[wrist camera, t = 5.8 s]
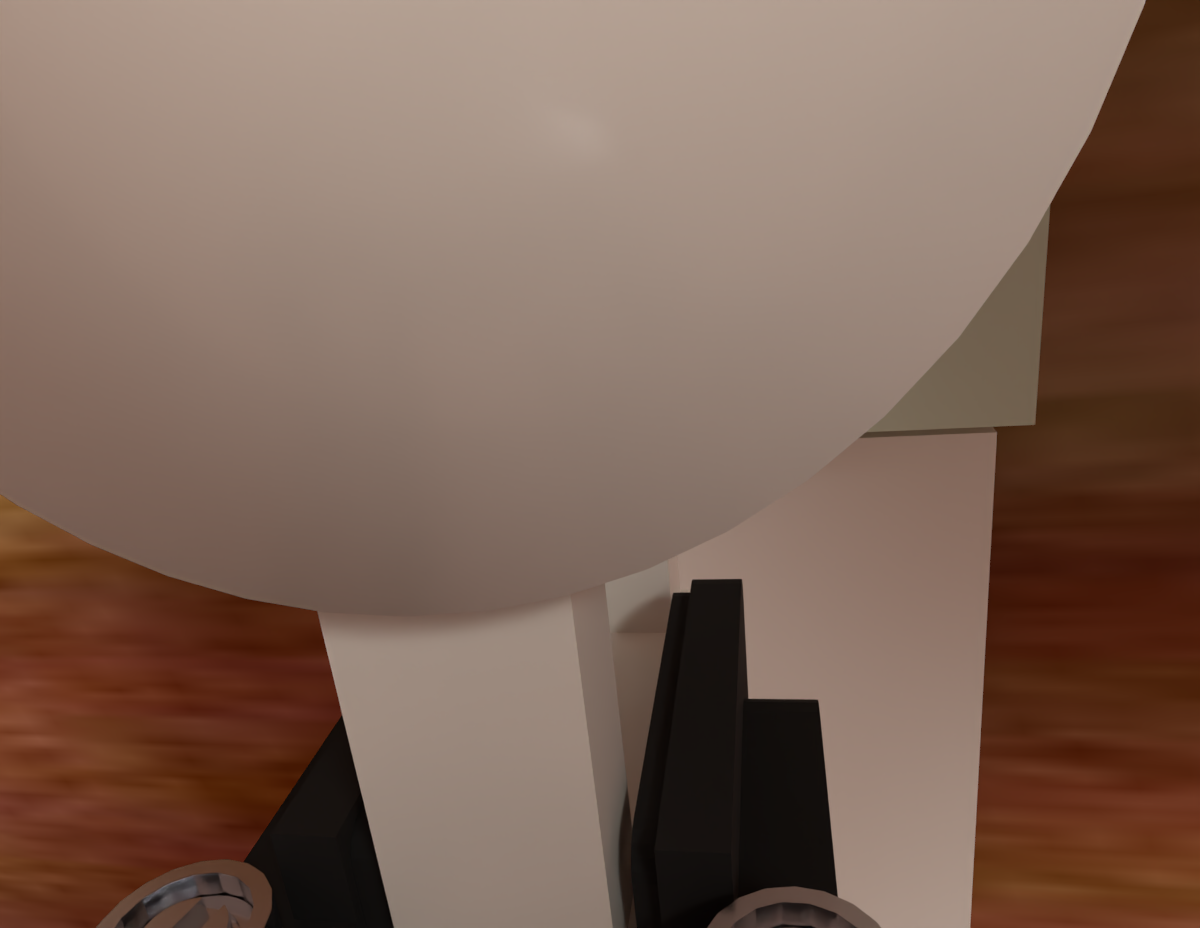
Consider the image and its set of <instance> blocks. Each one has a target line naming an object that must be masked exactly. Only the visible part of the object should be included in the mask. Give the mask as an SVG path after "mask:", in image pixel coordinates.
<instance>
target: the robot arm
mask: <svg viewBox="0 0 1200 928" xmlns="http://www.w3.org/2000/svg"><path fill="white" fill-rule="evenodd" d="M631 877H632V888H633V897H634V906H635V915H636V924H637V928H881V927H880V925H879V924H878V923H877V922H876V921H875V920H874V919H872V918H871V917H870V916H868V915H867V914H866V913H864V912H863V911H862V910H860V909H859V908H858V907H857V906H855V905H854V904H853V903H850V902H848V901H846V900H843V899H841V898H839V897H838V893H837V882H836V872H835V862H834V852H833V842H832V831H831V821H830V811H829V801H828V790H827V780H826V770H825V760H824V749H823V739H822V729H821V719H820V709H819V702H818V700H816V699H748V680H747V659H746V639H745V619H744V599H743V584H742V579H693V580H692V583H691V589H690V592H680V593H673V595H672V600H671V606H670V612H669V618H668V623H667V629H666V635H665V641H664V646H663V652H662V658H661V664H660V669H659V675H658V681H657V687H656V692H655V698H654V704H653V710H652V715H651V721H650V727H649V733H648V738H647V744H646V750H645V756H644V761H643V767H642V773H641V779H640V784H639V790H638V796H637V802H636V807H635V813H634V819H633V827H632V839H631ZM96 928H394V926H393V922H392V917H391V913H390V909H389V905H388V901H387V897H386V893H385V889H384V884H383V880H382V876H381V872H380V868H379V864H378V860H377V856H376V851H375V847H374V843H373V839H372V835H371V831H370V827H369V823H368V818H367V814H366V810H365V806H364V802H363V798H362V794H361V790H360V785H359V781H358V777H357V773H356V769H355V765H354V761H353V757H352V753H351V748H350V744H349V740H348V736H347V732H346V728H345V724H344V720H343V715H342V716H341V718H340V719H339V721H338V722H337V724H336V725H335V727H334V728H333V730H332V731H331V732H330V734H329V735H328V737H327V738H326V740H325V741H324V743H323V744H322V746H321V747H320V749H319V750H318V752H317V753H316V755H315V756H314V758H313V759H312V761H311V762H310V764H309V765H308V767H307V768H306V770H305V771H304V773H303V774H302V776H301V777H300V779H299V780H298V782H297V783H296V785H295V786H294V788H293V789H292V791H291V792H290V794H289V795H288V797H287V798H286V800H285V801H284V803H283V804H282V805H281V807H280V808H279V810H278V811H277V813H276V814H275V816H274V817H273V819H272V820H271V822H270V823H269V825H268V826H267V828H266V829H265V831H264V832H263V834H262V835H261V837H260V838H259V840H258V841H257V843H256V844H255V846H254V847H253V849H252V850H251V852H250V853H249V855H248V856H247V858H246V859H245V861H244V862H239V861H234V860H228V859H223V860H210V861H201V862H197V863H194V864H190V865H187V866H183V867H180V868H177V869H174V870H171V871H169V872H167V873H165V874H163V875H161V876H159V877H157V878H155V879H153V880H151V881H149V882H147V883H145V884H144V885H143V886H141V887H140V888H139V889H137V890H136V891H134V892H133V893H132V894H130V895H129V896H127V897H126V898H125V899H123V900H122V901H121V902H120V903H119V904H118V905H117V906H116V907H115V908H114V909H113V910H112V911H111V912H110V913H109V914H108V915H107V916H106V917H105V918H104V919H103V920H102V921H101V922H100V923H99V925H98V926H97V927H96Z"/></svg>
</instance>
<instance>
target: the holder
mask: <svg viewBox="0 0 1200 928" xmlns="http://www.w3.org/2000/svg"><path fill="white" fill-rule="evenodd" d="M1049 217H1050V205H1049V207H1048V209H1047V210H1046V212H1045V214H1044V216H1043V217H1042V219H1041V221H1040V223H1039V225H1038V226H1037V228H1036V230H1035V232H1034V233H1033V235H1032V237H1031V239H1030V240H1029V242H1028V244H1027V245H1026V246H1025V248H1024V249H1023V251H1022V252H1021V253H1020V255H1019V256H1018V257H1017V259H1016V260H1015V261H1014V263H1013V264H1012V266H1011V267H1010V268H1009V270H1008V271H1007V272H1006V274H1005V275H1004V276H1003V278H1002V279H1001V281H1000V282H999V283H998V285H997V286H996V287H995V289H994V290H993V291H992V293H991V294H990V296H989V297H988V298H987V300H986V301H985V302H984V304H983V305H982V306H981V308H980V309H979V311H978V312H977V313H976V315H975V316H974V317H973V319H972V320H971V321H970V323H969V324H968V326H967V327H966V328H965V330H964V331H963V332H962V334H961V335H960V336H959V338H958V339H957V340H956V341H955V342H954V343H953V344H952V345H951V346H950V347H949V348H948V349H947V351H946V352H945V353H944V354H943V355H942V356H941V357H940V358H939V359H938V360H937V361H936V362H935V363H934V364H933V365H932V367H931V368H930V369H929V370H928V371H927V372H926V373H925V374H924V375H923V376H922V377H921V378H920V379H919V380H918V381H917V383H916V384H915V385H914V386H913V387H912V388H911V389H910V390H909V391H908V392H907V393H906V394H905V395H904V396H903V397H902V399H901V400H900V401H899V402H898V403H897V404H896V405H895V406H894V407H893V408H892V409H891V410H890V411H889V412H888V413H887V414H886V416H885V417H883V418H882V419H881V420H880V421H879V422H877V423H876V424H875V425H874V426H873V427H871V428H870V429H869V430H868V431H867V432H883V431H906V430H929V429H952V428H975V427H998V426H1021V425H1035V419H1036V405H1037V390H1038V376H1039V361H1040V347H1041V332H1042V318H1043V304H1044V289H1045V275H1046V260H1047V246H1048V231H1049Z"/></svg>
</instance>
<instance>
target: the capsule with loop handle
mask: <svg viewBox="0 0 1200 928" xmlns="http://www.w3.org/2000/svg"><path fill="white" fill-rule="evenodd" d="M1145 1H1146V0H0V494H1V495H3V496H4V497H6V498H7V499H9V500H10V501H12V502H13V503H15V504H16V505H18V506H20V507H22V508H23V509H25V510H27V511H29V512H31V513H33V514H35V515H37V516H38V517H40V518H42V519H44V520H46V521H48V522H50V523H52V524H53V525H55V526H57V527H59V528H61V529H63V530H65V531H66V532H68V533H70V534H72V535H74V536H76V537H78V538H80V539H81V540H83V541H85V542H87V543H89V544H91V545H93V546H96V547H98V548H100V549H103V550H105V551H108V552H110V553H113V554H115V555H117V556H120V557H122V558H125V559H127V560H130V561H132V562H135V563H137V564H139V565H142V566H144V567H147V568H149V569H152V570H154V571H156V572H159V573H161V574H164V575H166V576H169V577H173V578H176V579H179V580H183V581H186V582H190V583H193V584H197V585H200V586H204V587H207V588H210V589H214V590H217V591H221V592H224V593H228V594H231V595H235V596H238V597H241V598H245V599H250V600H256V601H262V602H268V603H273V604H279V605H285V606H291V607H297V608H302V609H308V610H314V611H317V612H318V616H319V621H320V625H321V629H322V633H323V637H324V641H325V645H326V649H327V654H328V658H329V662H330V666H331V670H332V674H333V678H334V682H335V687H336V691H337V695H338V699H339V703H340V707H341V711H342V715H343V720H344V724H345V728H346V732H347V736H348V740H349V744H350V748H351V753H352V757H353V761H354V765H355V769H356V773H357V777H358V781H359V785H360V790H361V794H362V798H363V802H364V806H365V810H366V814H367V818H368V823H369V827H370V831H371V835H372V839H373V843H374V847H375V851H376V856H377V860H378V864H379V868H380V872H381V876H382V880H383V884H384V889H385V893H386V897H387V901H388V905H389V909H390V913H391V917H392V922H393V926H394V928H637V924H636V915H635V906H634V897H633V888H632V877H631V839H632V827H633V819H634V813H635V807H636V802H637V796H638V790H639V784H640V779H641V773H642V767H643V761H644V756H645V750H646V744H647V738H648V733H649V727H650V721H651V715H652V710H653V704H654V698H655V692H656V687H657V681H658V675H659V669H660V664H661V658H662V652H663V646H664V641H665V635H666V629H667V623H668V618H669V612H670V606H671V600H672V595H673V593H680V592H690V589H680V579H679V566H678V555H679V554H681V553H683V552H685V551H687V550H690V549H692V548H694V547H696V546H698V545H700V544H702V543H704V542H707V541H709V540H711V539H713V538H715V537H717V536H719V535H721V534H723V533H726V532H728V531H729V530H731V529H732V528H734V527H736V526H737V525H739V524H740V523H742V522H743V521H745V520H747V519H748V518H750V517H751V516H753V515H754V514H756V513H758V512H759V511H761V510H762V509H764V508H765V507H767V506H768V505H770V504H772V503H773V502H775V501H776V500H778V499H779V498H781V497H783V496H784V495H786V494H787V493H789V492H790V491H792V490H794V489H795V488H797V487H798V486H800V485H801V484H803V483H804V482H806V481H808V480H809V479H810V478H811V477H812V476H814V475H815V474H816V473H817V472H818V471H820V470H821V469H822V468H823V467H824V466H826V465H827V464H828V463H829V462H830V461H832V460H833V459H834V458H835V457H836V456H838V455H839V454H840V453H841V452H842V451H844V450H845V449H846V448H847V447H848V446H850V445H851V444H852V443H853V442H854V441H856V440H857V439H858V438H859V437H861V436H862V435H863V434H864V433H865V432H867V431H868V430H869V429H870V428H871V427H873V426H874V425H875V424H876V423H877V422H879V421H880V420H881V419H882V418H883V417H885V416H886V414H887V413H888V412H889V411H890V410H891V409H892V408H893V407H894V406H895V405H896V404H897V403H898V402H899V401H900V400H901V399H902V397H903V396H904V395H905V394H906V393H907V392H908V391H909V390H910V389H911V388H912V387H913V386H914V385H915V384H916V383H917V381H918V380H919V379H920V378H921V377H922V376H923V375H924V374H925V373H926V372H927V371H928V370H929V369H930V368H931V367H932V365H933V364H934V363H935V362H936V361H937V360H938V359H939V358H940V357H941V356H942V355H943V354H944V353H945V352H946V351H947V349H948V348H949V347H950V346H951V345H952V344H953V343H954V342H955V341H956V340H957V339H958V338H959V336H960V335H961V334H962V332H963V331H964V330H965V328H966V327H967V326H968V324H969V323H970V321H971V320H972V319H973V317H974V316H975V315H976V313H977V312H978V311H979V309H980V308H981V306H982V305H983V304H984V302H985V301H986V300H987V298H988V297H989V296H990V294H991V293H992V291H993V290H994V289H995V287H996V286H997V285H998V283H999V282H1000V281H1001V279H1002V278H1003V276H1004V275H1005V274H1006V272H1007V271H1008V270H1009V268H1010V267H1011V266H1012V264H1013V263H1014V261H1015V260H1016V259H1017V257H1018V256H1019V255H1020V253H1021V252H1022V251H1023V249H1024V248H1025V246H1026V245H1027V244H1028V242H1029V240H1030V239H1031V237H1032V235H1033V233H1034V232H1035V230H1036V228H1037V226H1038V225H1039V223H1040V221H1041V219H1042V217H1043V216H1044V214H1045V212H1046V210H1047V209H1048V207H1049V205H1050V203H1051V202H1052V200H1053V198H1054V196H1055V194H1056V193H1057V191H1058V189H1059V187H1060V186H1061V184H1062V182H1063V180H1064V179H1065V177H1066V175H1067V173H1068V171H1069V170H1070V168H1071V166H1072V164H1073V163H1074V161H1075V159H1076V157H1077V156H1078V154H1079V152H1080V150H1081V148H1082V147H1083V145H1084V143H1085V141H1086V140H1087V138H1088V136H1089V134H1090V133H1091V130H1092V128H1093V126H1094V123H1095V121H1096V119H1097V116H1098V114H1099V111H1100V109H1101V107H1102V104H1103V102H1104V100H1105V97H1106V95H1107V92H1108V90H1109V88H1110V85H1111V83H1112V81H1113V78H1114V76H1115V73H1116V71H1117V69H1118V66H1119V64H1120V62H1121V59H1122V57H1123V54H1124V52H1125V50H1126V47H1127V45H1128V42H1129V40H1130V38H1131V35H1132V33H1133V31H1134V28H1135V26H1136V23H1137V21H1138V19H1139V16H1140V14H1141V12H1142V9H1143V7H1144V4H1145Z"/></svg>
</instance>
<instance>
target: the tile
mask: <svg viewBox="0 0 1200 928" xmlns="http://www.w3.org/2000/svg"><path fill="white" fill-rule="evenodd" d="M996 443H997V432H996V430H995V429H994V428H993V427H975V428H952V429H929V430H906V431H883V432H865V433H864V434H863V435H862V436H861V437H859V438H858V439H857V440H856V441H854V442H853V443H852V444H851V445H850V446H848V447H847V448H846V449H845V450H844V451H842V452H841V453H840V454H839V455H838V456H836V457H835V458H834V459H833V460H832V461H830V462H829V463H828V464H827V465H826V466H824V467H823V468H822V469H821V470H820V471H818V472H817V473H816V474H815V475H814V476H812V477H811V478H810V479H809V480H808V481H806V482H804V483H803V484H801V485H800V486H798V487H797V488H795V489H794V490H792V491H790V492H789V493H787V494H786V495H784V496H783V497H781V498H779V499H778V500H776V501H775V502H773V503H772V504H770V505H768V506H767V507H765V508H764V509H762V510H761V511H759V512H758V513H756V514H754V515H753V516H751V517H750V518H748V519H747V520H745V521H743V522H742V523H740V524H739V525H737V526H736V527H734V528H732V529H731V530H729V531H728V532H726V533H723V534H721V535H719V536H717V537H715V538H713V539H711V540H709V541H707V542H704V543H702V544H700V545H698V546H696V547H694V548H692V549H690V550H687V551H685V552H683V553H681V554H679V555H678V566H679V579H680V589H691V583H692V580H693V579H742V584H743V599H744V619H745V639H746V659H747V680H748V699H816V700H818V702H819V709H820V719H821V729H822V739H823V749H824V760H825V770H826V780H827V790H828V801H829V811H830V821H831V831H832V842H833V852H834V862H835V872H836V882H837V893H838V897H839V898H841V899H843V900H846V901H848V902H850V903H853V904H854V905H855V906H857V907H858V908H859V909H860V910H862V911H863V912H864V913H866V914H867V915H868V916H870V917H871V918H872V919H874V920H875V921H876V922H877V923H878V924H879V925H880V927H881V928H970V921H971V903H972V884H973V866H974V848H975V829H976V811H977V793H978V774H979V756H980V737H981V719H982V701H983V682H984V664H985V645H986V627H987V609H988V590H989V572H990V554H991V535H992V517H993V498H994V480H995V462H996Z"/></svg>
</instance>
